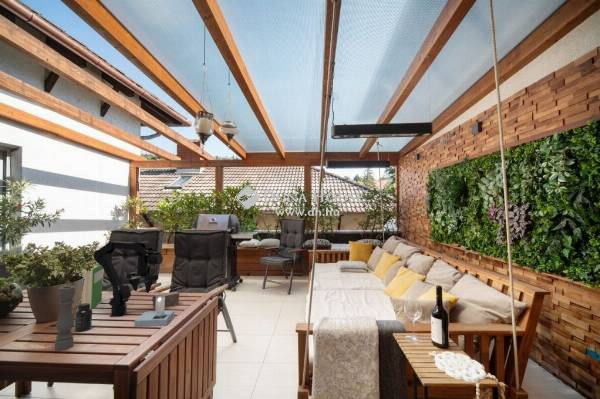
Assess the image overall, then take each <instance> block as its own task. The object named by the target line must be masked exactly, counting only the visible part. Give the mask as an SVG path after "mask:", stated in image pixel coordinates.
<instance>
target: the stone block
mask: <svg viewBox="0 0 600 399" xmlns="http://www.w3.org/2000/svg"><path fill="white" fill-rule="evenodd" d="M160 296H164V297H165V308H168V307H169V308H170V307H174V306H177V305H179V302H180V292H178V291H172V292H166V293H162V294H156V295H152V299H151V300H152V307H153V308H154V309H155V304H156V297H160Z"/></svg>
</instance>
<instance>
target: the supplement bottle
mask: <svg viewBox="0 0 600 399" xmlns="http://www.w3.org/2000/svg"><path fill="white" fill-rule="evenodd" d="M92 322H93V309H91V308H90V303H84V304H79V305H77V310H75V313H74V326H73V327H74V331H75V332H76V333H77V332H85V331H89V330H91V329H92Z"/></svg>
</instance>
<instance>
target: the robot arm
mask: <svg viewBox="0 0 600 399" xmlns="http://www.w3.org/2000/svg"><path fill="white" fill-rule="evenodd" d="M116 249H118V250H131V251H133V252H135V253H134V254H133V257H134V256H135V257H136V259H137V260H136V265H135V267H134V268H135V269H136V271H134V272H129V273H127V274H126V275H125V276H126V277H125V278H126V279H127V281H129V283H130V285H131V286H132V289H133V290H134V292H137V291H138V288H139V286H138V285H139V280H141V279H144V287H145V291H146V293H147V294H149V293H150V291H151V289H152V286H153V284H154V282H156V281H158V280H159V275H158V274H157V272H158V269H157V268H154V267H151V265H161V264H162V263H163V260H164V256H163V254H162V252H161V251H155V250H154V248H153V247H152V244H151V243H150V242H149V241H148V240H144V241H136V242H134V241H133V242H131V241H116V240H112V241H108V242H107V243H106V244H105V245H103V246H102V247H100V248H99V249H97V250H96V251H95V252H94V253H93V255H92V256H93V259H94V261H95V262H96V263H97V264H100V265H101V266H102V267H103V272H104V273H105V274H106V277H107V279H108V281H109V282H110V285H111V287H112V298H111V299H110V300H109V301H108V304H109V306H111V310H110V311H111V314H110V315H109V317H123V316H124V315H125V314H127V313H128V312H127V310H128V309H127V308H128V305H127V302H128V301H129V300H130V298H131V295H132V290H131V288H130V285H128V284H127V285H125V284H124V283H123V282H122V280H121V277H120V275H119V273H118V271H117V270H116V267H115V266H114V263H113V262H112V261H113V255H112V254H114V252H115V251H116Z"/></svg>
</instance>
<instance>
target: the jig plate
mask: <svg viewBox="0 0 600 399" xmlns="http://www.w3.org/2000/svg"><path fill="white" fill-rule="evenodd" d="M174 317H175V310H165V311H164V319H155V310H151V311H150V310H149V311H148V310H147V311H145V312H144V313H142V314H140V316H139V317H137V318H136V319H135V320H134V328H140V327H141V328H142V327H161V326H163V327H164V326H167V325H168V324H169V323H170V321H171V320H172V319H173V318H174Z"/></svg>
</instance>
